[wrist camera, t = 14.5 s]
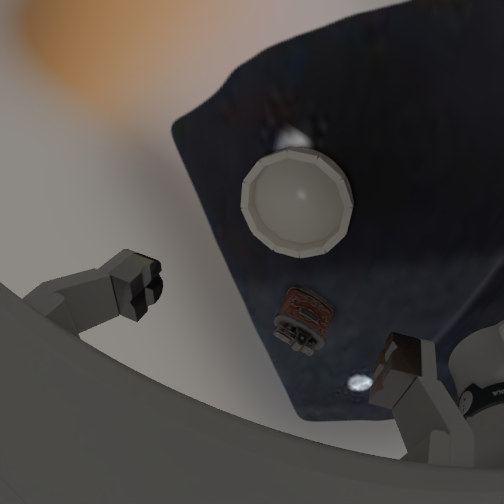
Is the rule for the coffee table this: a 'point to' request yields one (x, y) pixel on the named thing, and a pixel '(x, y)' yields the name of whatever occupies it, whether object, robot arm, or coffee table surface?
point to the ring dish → (297, 202)
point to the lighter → (303, 320)
